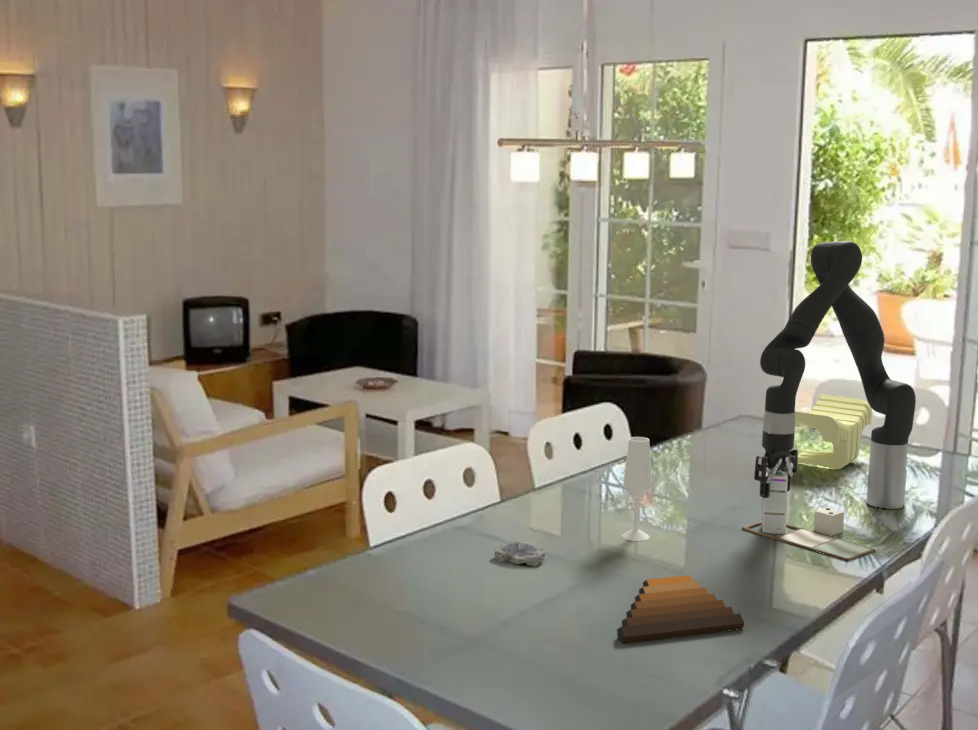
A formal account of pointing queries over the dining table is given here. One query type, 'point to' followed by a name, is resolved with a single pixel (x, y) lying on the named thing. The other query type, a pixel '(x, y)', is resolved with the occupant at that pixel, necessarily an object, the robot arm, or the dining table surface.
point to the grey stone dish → (520, 553)
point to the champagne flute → (637, 480)
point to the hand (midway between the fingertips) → (774, 494)
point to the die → (828, 521)
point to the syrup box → (775, 505)
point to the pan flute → (675, 611)
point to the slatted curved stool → (836, 429)
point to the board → (818, 542)
